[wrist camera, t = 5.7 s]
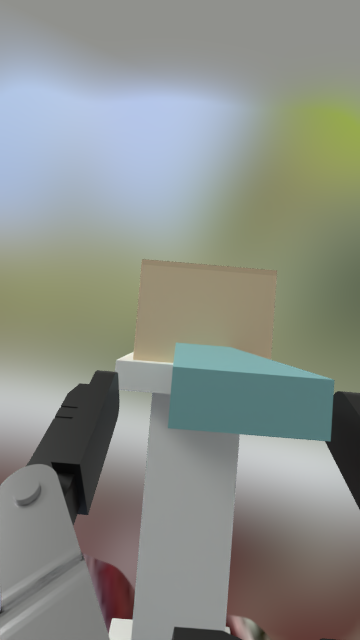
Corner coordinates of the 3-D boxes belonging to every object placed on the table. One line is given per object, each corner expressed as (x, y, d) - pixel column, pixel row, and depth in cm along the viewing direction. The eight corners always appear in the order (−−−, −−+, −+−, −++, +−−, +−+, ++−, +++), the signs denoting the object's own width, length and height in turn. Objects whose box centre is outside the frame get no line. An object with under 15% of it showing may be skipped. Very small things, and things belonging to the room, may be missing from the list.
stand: (266, 889, 17) (299, 376, 18) (58, 874, 17) (106, 360, 18) (227, 646, 30) (248, 357, 31) (110, 637, 30) (136, 347, 31)
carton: (452, 451, 7) (464, 158, 7) (44, 418, 7) (74, 124, 7) (238, 357, 30) (243, 290, 30) (148, 349, 30) (153, 282, 30)
